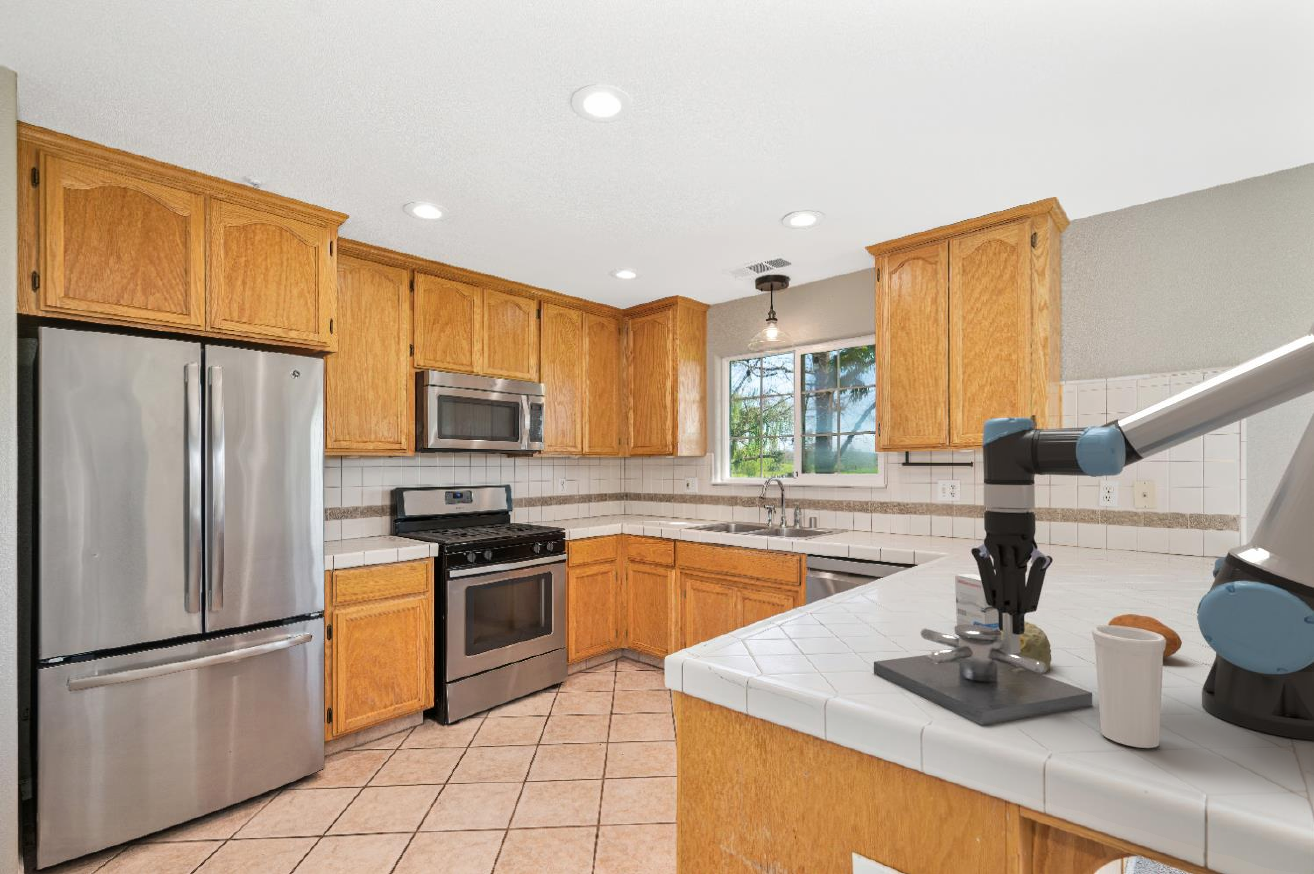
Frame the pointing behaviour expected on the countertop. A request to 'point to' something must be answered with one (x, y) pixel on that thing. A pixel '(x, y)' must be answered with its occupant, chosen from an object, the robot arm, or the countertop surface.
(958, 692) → the stand
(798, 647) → the countertop surface
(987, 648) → the capstan
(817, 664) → the countertop surface
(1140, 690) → the cup
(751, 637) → the countertop surface
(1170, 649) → the potato
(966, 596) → the ink box
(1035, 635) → the decorative object
